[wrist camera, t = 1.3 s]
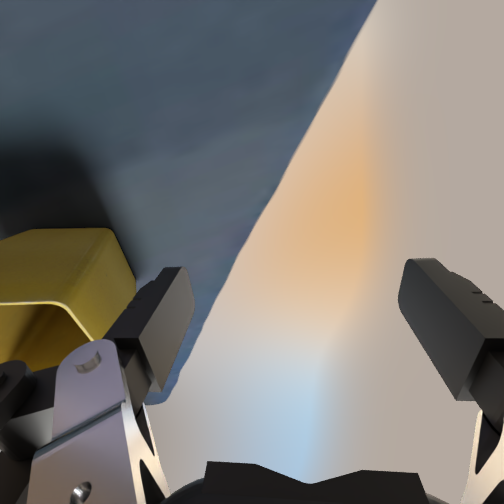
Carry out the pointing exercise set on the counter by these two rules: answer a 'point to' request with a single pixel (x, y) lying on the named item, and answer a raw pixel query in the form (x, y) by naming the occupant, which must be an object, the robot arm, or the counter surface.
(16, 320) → the flower pot
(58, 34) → the counter surface
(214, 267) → the counter surface
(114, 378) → the robot arm
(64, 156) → the counter surface
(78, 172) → the counter surface
